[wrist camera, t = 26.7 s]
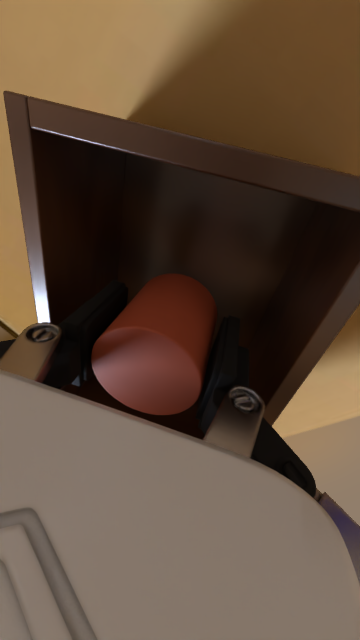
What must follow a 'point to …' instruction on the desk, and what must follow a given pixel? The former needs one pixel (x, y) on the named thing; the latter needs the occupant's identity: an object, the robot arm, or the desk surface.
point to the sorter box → (187, 236)
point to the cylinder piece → (158, 346)
